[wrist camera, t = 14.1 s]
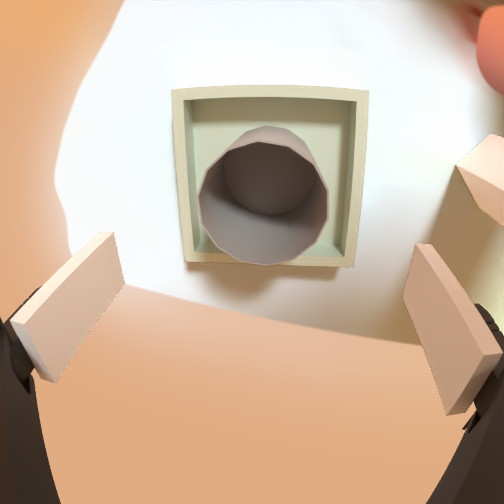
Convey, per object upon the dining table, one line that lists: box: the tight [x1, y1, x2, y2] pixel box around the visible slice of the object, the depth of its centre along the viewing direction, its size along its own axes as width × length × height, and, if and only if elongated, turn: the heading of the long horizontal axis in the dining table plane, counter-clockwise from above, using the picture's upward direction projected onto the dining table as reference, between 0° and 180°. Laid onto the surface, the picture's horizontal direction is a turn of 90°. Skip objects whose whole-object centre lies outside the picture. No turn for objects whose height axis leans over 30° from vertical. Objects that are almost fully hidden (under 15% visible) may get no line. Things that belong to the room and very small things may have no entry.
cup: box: [197, 125, 329, 266], centre depth 25 cm, size 8×8×10 cm
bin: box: [171, 85, 369, 267], centre depth 28 cm, size 16×16×4 cm
